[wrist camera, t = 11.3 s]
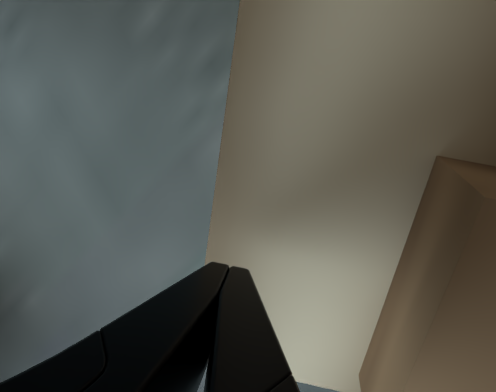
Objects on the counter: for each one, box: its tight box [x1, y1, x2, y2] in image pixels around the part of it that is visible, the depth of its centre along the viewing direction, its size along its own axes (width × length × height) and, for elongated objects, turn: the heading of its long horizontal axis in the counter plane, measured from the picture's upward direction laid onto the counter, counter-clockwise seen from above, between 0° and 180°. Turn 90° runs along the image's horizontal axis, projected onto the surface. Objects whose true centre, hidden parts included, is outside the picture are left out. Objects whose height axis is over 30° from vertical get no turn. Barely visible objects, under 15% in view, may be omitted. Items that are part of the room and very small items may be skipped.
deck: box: [205, 0, 496, 392], centre depth 9 cm, size 12×18×3 cm, turn 171°
